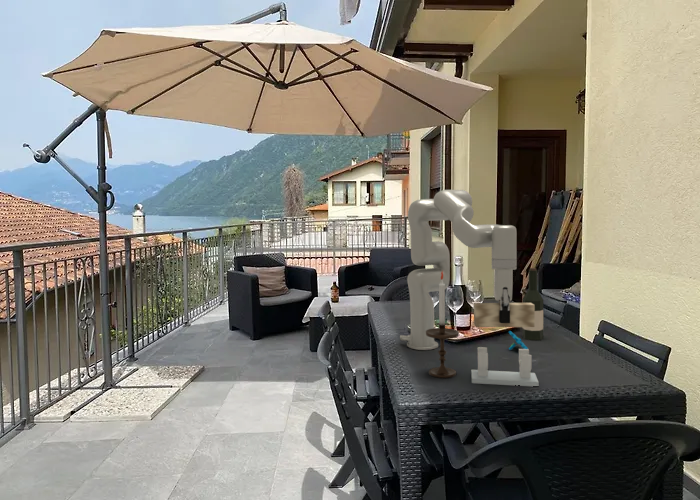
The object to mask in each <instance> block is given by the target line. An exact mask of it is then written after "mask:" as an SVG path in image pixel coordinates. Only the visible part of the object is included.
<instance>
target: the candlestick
mask: <svg viewBox="0 0 700 500" xmlns="http://www.w3.org/2000/svg"><path fill="white" fill-rule="evenodd" d="M441 279H443V271H442V272H441ZM445 292H446V289H445V284H443V280H441V283H440V284H439V291H438V309H439V310H438V311H439V312H438V316H439V318H438V319H439V320H438V322H437V323H436V326H438V327H436V328H435V327H434V328H433V329H428V330H426V336H428V337H431V338H434V339H437V340H439V343H440V344H439V345H440V348H439V350H438V352H437V353H438V355H439V358H438V361H440V362H439V363H440V364H439V366H438V367H431V368H430V369H429V370H428V374H429V376H431V377H433V378H437V379H452V378H454V377H456V376H457V370H455V369H454V368H452V367H446V365H445V361H447V358H445V356H446V355H447V350H445V340H449V339H455V338H458V337H459V335H460V333H459V331H458V330H457V329H454V328H453V329H452V328H447V327H446V326H448V325H449V323H446V306H445V305H446V304H445V303H446V302H445V301H446V299H445V298H446V297H445Z"/></svg>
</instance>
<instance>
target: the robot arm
mask: <svg viewBox="0 0 700 500" xmlns="http://www.w3.org/2000/svg"><path fill="white" fill-rule="evenodd" d="M472 206H473V197H472V194H470V193H469V192H468V191H467V190H466V189H465V190H464V189H443V190H440V191H437V193H435V195H434V197H433V198H423V199H417V200H413V202H411V204H410V205H409V207H408V210H407V218H408V225H409V230H410V257H411V262H412V264H414V265H415V266H424V267H425V266H433V267H432V268H427V267H426V268H418V269H417V268H416V269H414V270H412V271H410V272H409V273H408V275H407V278H406V279H407V285H408V292H409V293H408V294H409V304H410V305H409V306H410V307H409V309H410V312H409V313H410V318H409V319H410V334H407V335H403V334H400V335H399V340H400V341H402V342H406V347H408V348H409V349H413V350H417V351H418V350H419V351H429V350H435V349H437V348H438V347H439V343H438V342H437V341H435V338H431V337H428V336H426V330H428V329H433V328H435V303H434V300H433V298H432V297H431V295H430V292H433V293H434V292H439V284H440V283H441V280H443V284H445V290H446V289H448V287H449V285H450V274H451V273H450V271H451V270H450V267H451V262H450V257H451V256H450V250H449V248H448V246H447V244H446V243H444V242H443V241H440V240H438V241H435V240H434V241H433V231H432V228H431V225H430V224H429V223H428V221H430V222H431V221H432V222H433V221H434V222H435V221H438V222H439V221H450V222H451V226H452V232H453V235H454V236H455V238H456V239H457V240H459V242H461V243H462V244H463V245H464V246H466V247H468V248H471V249H476V248H477V249H478V248H479V249H480V248H491V270H494V286H493V287H494V291H493V292H494V294H493V295H494V299H495V301H496V302H498V303H500V310H499V322H500V323H510V307H509V303H511V301H512V300H513V285H514V282H513V277H514V276H513V275H514V274H513V272H514V271H515V270H517V261H518V260H517V259H518V258H517V253H518V251H517V228H516V226H514V225H511V224H507V225H505V224H504V225H503V224H497V223H494V224H493V223H492V224H486V223H485V224H472V223H471V222H472V219H473V218H474V214H475V213H474V212H475V211H474V208H473V207H472ZM513 270H514V271H513ZM442 271H443V279H441V272H442Z"/></svg>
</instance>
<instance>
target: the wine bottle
mask: <svg viewBox="0 0 700 500" xmlns="http://www.w3.org/2000/svg"><path fill="white" fill-rule="evenodd" d="M521 303H532V304H534V305H535V318H534V327H521V328H522V329H521V330H522V331H521V332H522V336H521V337H522V339H524V340H528V341H542V340H543V339H544V299H543V297H542V295H541V293H540V292H539V290H538V270H537V268H535V267H530V268H529V269H528V289H527V292H526V293H525V295H524V296H523V297H522V302H521Z"/></svg>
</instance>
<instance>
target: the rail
mask: <svg viewBox="0 0 700 500" xmlns="http://www.w3.org/2000/svg"><path fill="white" fill-rule="evenodd" d="M509 307H510V323H500V322H499V310H500V303H499V302H475V303H473V325H474V326H475V328H522V327H534V318H535V305H534V304H532V303H522V302H509Z"/></svg>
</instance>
